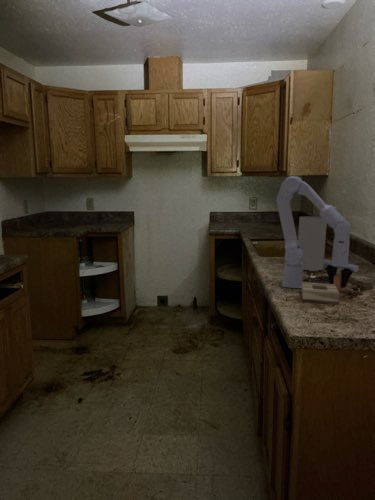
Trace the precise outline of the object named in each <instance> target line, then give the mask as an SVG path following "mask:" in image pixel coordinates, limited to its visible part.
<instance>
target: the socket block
mask: <svg viewBox="0 0 375 500" xmlns="http://www.w3.org/2000/svg"><path fill="white" fill-rule="evenodd" d="M300 289H301V290H300V293H301V294H300V295H301V299H302V302H303V303H315V304H317V303H319V304H328V305H340V304H339V303H340V293H341V292H339V291H338V289H337V287H336V286H335V284H330V283H318V282H303V281H302V287H301V288H300Z"/></svg>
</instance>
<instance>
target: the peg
mask: <svg viewBox="0 0 375 500" xmlns="http://www.w3.org/2000/svg"><path fill="white" fill-rule="evenodd" d="M341 281H342V278H341V275H334V281H333V284H335V286H336V287H337V289H338V291H339V293H342V292H343V289H344V288H341Z"/></svg>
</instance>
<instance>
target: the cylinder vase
mask: <svg viewBox="0 0 375 500" xmlns="http://www.w3.org/2000/svg"><path fill="white" fill-rule="evenodd" d="M327 225H328V224H327V223H326V222H325V220H324V219H323V218H322V217H321V216H299V222H298V233H297V234H298V235H297V240H298V242H299V245H300V248H301V249H302V250H303V253H304V256H303V258H302V259H301V262H302V263H303V271H304V270H309V271H308V272H320V271H319V270H321V271H323V269H324V266H325V265H322V260H325V251H326V235H327Z"/></svg>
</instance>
